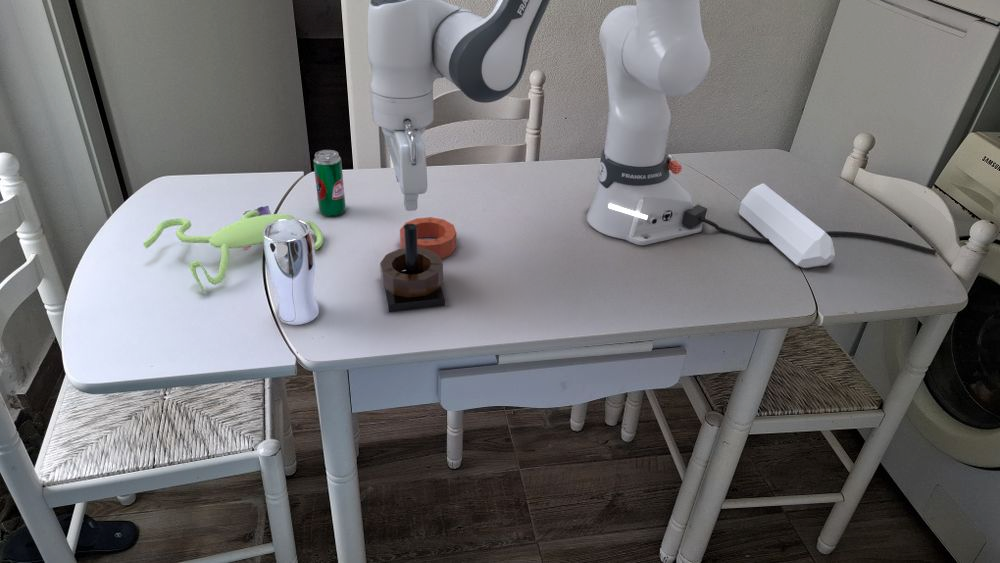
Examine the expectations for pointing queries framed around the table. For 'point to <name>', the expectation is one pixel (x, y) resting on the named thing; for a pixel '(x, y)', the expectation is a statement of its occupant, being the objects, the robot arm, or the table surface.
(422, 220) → the terracotta ring
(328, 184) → the soda can
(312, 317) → the chrome cup
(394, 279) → the walnut ring
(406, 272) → the peg stand
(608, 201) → the robot arm
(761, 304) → the table surface
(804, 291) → the table surface
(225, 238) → the pale green curved piece
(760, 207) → the crystal
